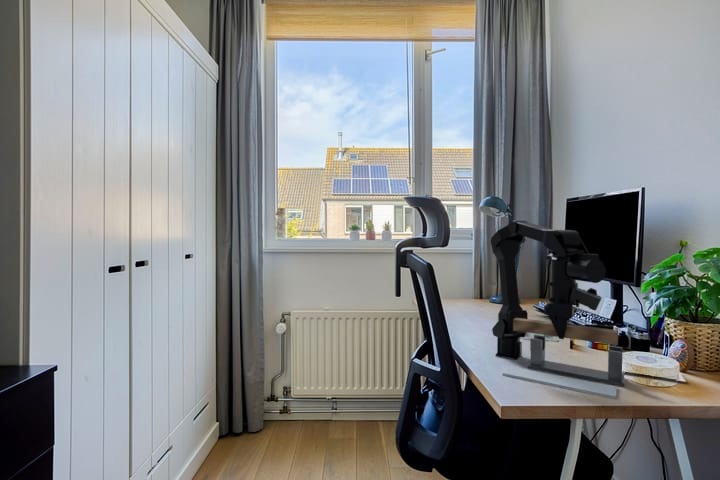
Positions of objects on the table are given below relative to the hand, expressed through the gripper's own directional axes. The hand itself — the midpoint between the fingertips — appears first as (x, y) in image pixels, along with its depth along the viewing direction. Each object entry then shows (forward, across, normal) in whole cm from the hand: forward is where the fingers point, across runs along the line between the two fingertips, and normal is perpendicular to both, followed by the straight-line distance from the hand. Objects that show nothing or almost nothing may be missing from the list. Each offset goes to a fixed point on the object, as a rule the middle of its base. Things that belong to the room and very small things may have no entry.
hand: (562, 337), depth 100 cm
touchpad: (+13, +21, -19) cm, 31 cm away
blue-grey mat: (+12, 0, +1) cm, 12 cm away
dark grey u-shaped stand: (+12, +10, -2) cm, 16 cm away
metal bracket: (+13, +45, +15) cm, 49 cm away
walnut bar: (0, 0, 0) cm, 0 cm away
